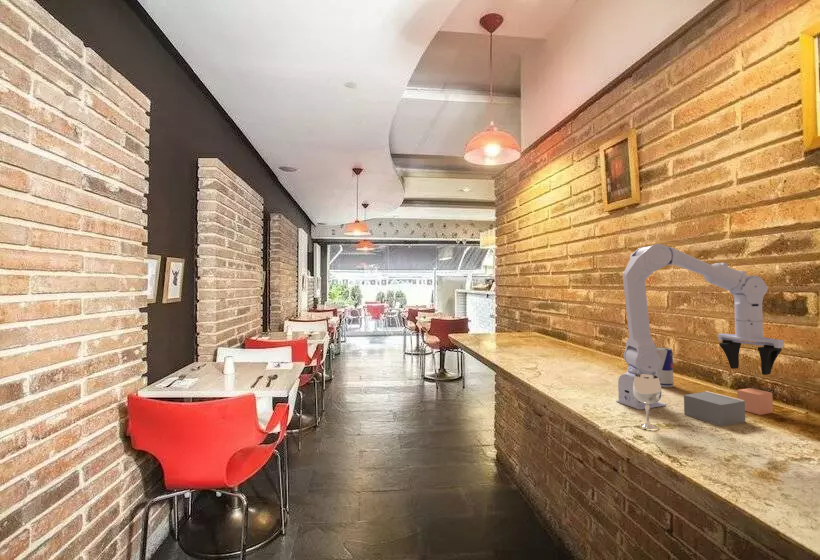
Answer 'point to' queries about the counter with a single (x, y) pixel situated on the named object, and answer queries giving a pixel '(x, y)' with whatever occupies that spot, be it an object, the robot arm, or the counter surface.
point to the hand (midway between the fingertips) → (749, 371)
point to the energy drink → (665, 367)
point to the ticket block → (714, 408)
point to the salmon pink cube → (756, 400)
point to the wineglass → (647, 393)
